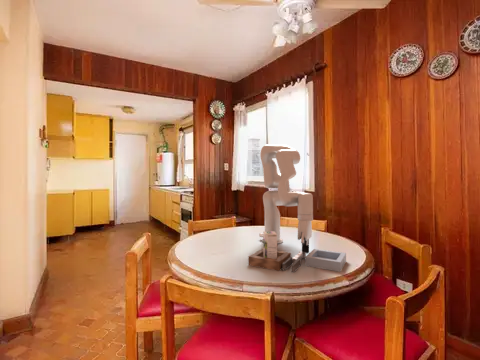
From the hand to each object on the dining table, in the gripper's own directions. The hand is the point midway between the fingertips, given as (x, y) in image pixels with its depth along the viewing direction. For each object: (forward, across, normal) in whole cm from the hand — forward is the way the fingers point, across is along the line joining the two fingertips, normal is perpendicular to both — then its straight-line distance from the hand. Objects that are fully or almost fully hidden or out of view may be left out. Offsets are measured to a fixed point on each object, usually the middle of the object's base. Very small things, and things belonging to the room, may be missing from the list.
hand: (305, 252), depth 133 cm
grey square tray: (+1, +8, +12) cm, 14 cm away
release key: (+1, +11, 0) cm, 11 cm away
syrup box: (+2, +19, -11) cm, 22 cm away
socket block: (+1, +19, -8) cm, 21 cm away
